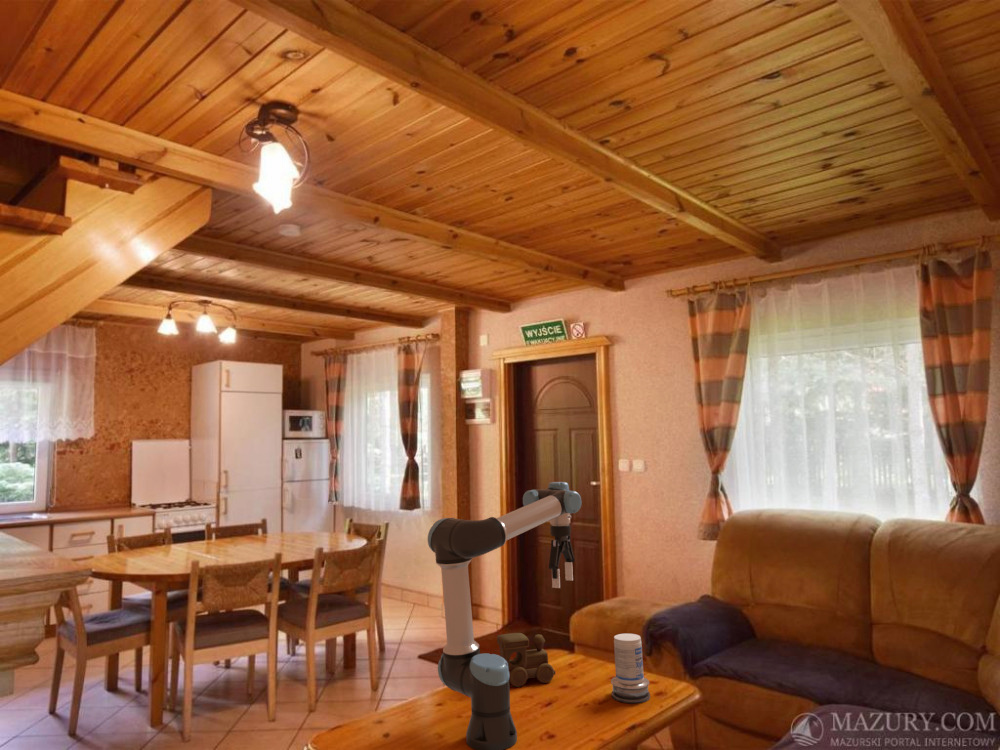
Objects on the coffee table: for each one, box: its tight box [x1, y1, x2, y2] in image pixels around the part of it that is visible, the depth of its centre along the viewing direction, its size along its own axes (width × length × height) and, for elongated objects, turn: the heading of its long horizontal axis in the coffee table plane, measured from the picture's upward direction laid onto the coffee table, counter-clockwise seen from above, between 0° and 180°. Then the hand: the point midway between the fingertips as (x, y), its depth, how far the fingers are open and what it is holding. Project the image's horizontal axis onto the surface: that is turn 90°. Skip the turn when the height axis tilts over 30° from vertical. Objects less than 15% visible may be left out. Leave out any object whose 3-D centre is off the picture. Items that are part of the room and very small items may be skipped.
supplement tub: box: [613, 633, 645, 685], centre depth 228 cm, size 10×10×15 cm
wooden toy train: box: [496, 632, 556, 688], centre depth 246 cm, size 20×11×17 cm, turn 106°
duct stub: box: [610, 676, 651, 705], centre depth 227 cm, size 13×13×5 cm
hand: (562, 584), depth 239 cm, fingers open, 13 cm apart
